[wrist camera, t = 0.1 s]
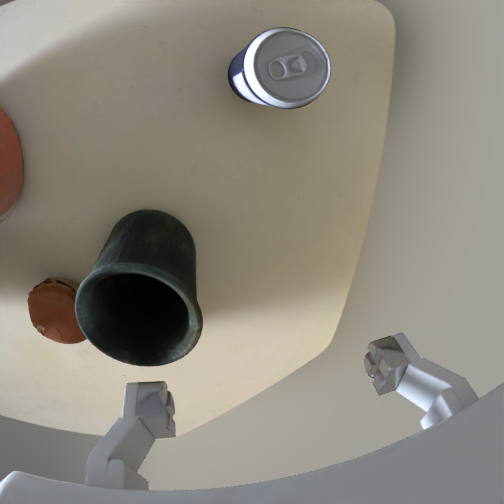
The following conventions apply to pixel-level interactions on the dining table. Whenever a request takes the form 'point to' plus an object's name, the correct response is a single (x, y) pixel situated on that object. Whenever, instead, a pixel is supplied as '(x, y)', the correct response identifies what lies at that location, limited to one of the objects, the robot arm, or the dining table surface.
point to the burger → (55, 310)
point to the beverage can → (280, 69)
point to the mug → (143, 292)
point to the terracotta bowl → (9, 166)
